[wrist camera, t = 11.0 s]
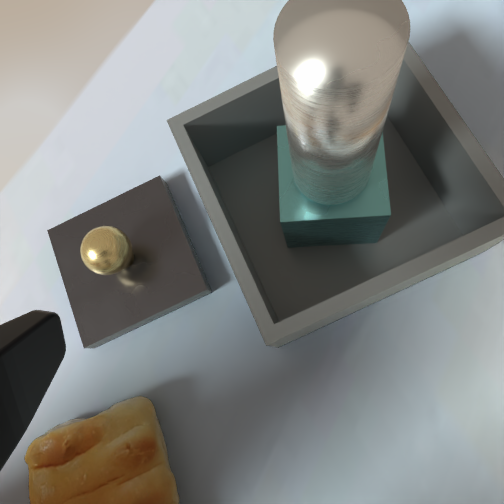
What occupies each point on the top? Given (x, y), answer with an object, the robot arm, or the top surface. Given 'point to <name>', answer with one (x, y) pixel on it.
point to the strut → (336, 116)
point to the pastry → (103, 459)
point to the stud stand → (127, 263)
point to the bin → (351, 255)
